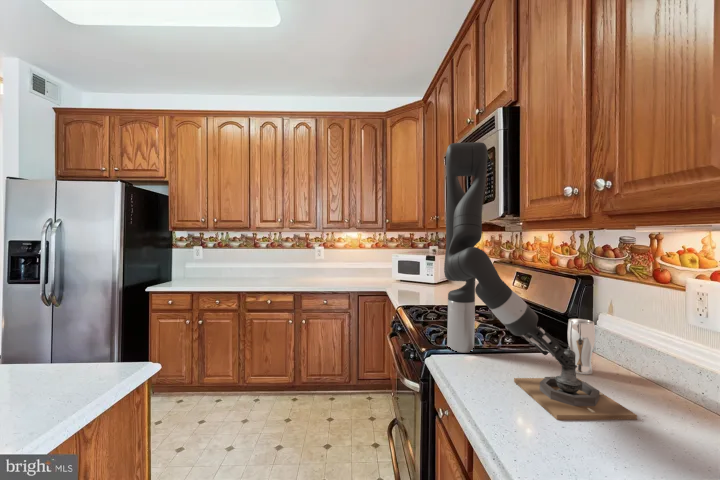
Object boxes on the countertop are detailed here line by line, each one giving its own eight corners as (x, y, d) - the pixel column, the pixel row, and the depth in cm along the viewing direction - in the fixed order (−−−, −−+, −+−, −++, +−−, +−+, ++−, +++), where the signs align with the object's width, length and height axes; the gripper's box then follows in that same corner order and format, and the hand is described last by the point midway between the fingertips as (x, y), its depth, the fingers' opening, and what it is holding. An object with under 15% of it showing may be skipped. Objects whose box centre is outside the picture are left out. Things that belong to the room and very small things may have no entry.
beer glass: (584, 376, 101) (585, 324, 101) (561, 368, 107) (562, 319, 107) (599, 373, 104) (600, 322, 103) (576, 365, 110) (577, 317, 110)
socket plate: (514, 381, 97) (514, 370, 97) (577, 381, 97) (578, 371, 97) (556, 419, 77) (557, 406, 77) (637, 419, 77) (637, 406, 77)
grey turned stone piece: (555, 396, 86) (556, 347, 85) (554, 387, 91) (555, 341, 91) (583, 402, 83) (584, 351, 83) (580, 392, 88) (581, 345, 88)
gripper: (539, 307, 79) (587, 357, 80) (510, 296, 93) (551, 339, 94) (515, 330, 79) (564, 380, 80) (490, 315, 93) (531, 358, 94)
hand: (557, 358), depth 87 cm, fingers open, 8 cm apart
